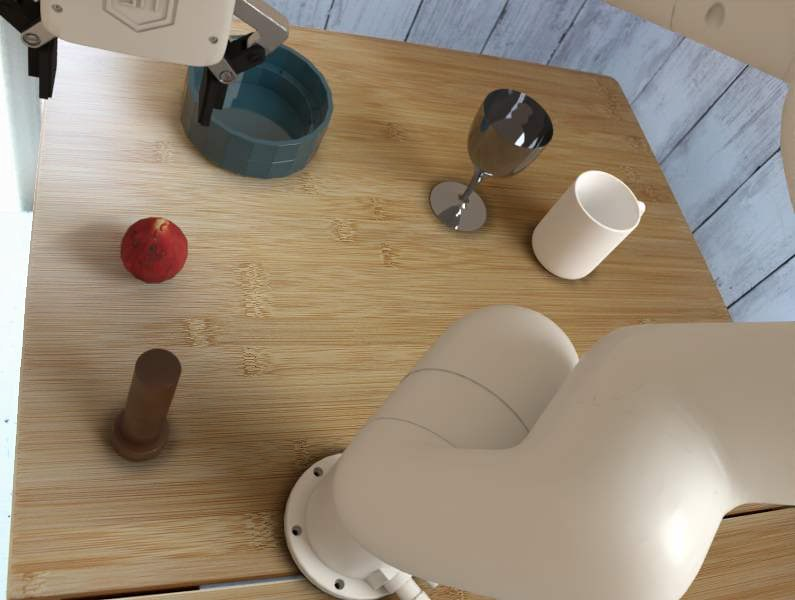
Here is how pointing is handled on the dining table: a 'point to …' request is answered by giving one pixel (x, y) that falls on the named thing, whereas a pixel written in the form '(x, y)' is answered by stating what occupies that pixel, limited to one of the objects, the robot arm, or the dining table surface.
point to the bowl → (262, 116)
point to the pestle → (147, 407)
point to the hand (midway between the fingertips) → (128, 97)
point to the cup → (586, 225)
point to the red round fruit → (154, 250)
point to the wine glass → (494, 154)
